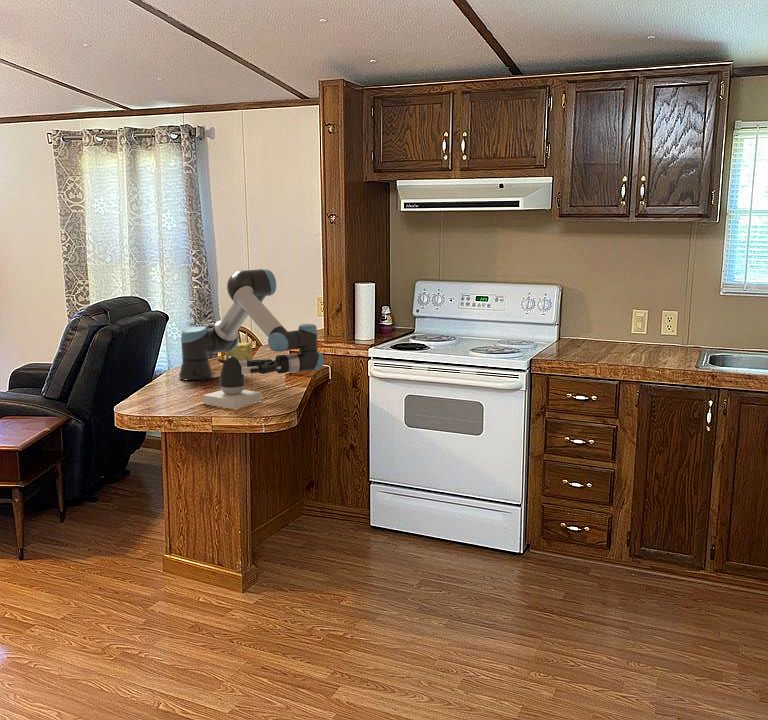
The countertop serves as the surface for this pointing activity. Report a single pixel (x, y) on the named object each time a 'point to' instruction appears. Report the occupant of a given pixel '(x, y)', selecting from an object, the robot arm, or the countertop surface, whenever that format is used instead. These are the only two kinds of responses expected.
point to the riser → (231, 399)
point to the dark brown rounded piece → (231, 376)
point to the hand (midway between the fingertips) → (236, 368)
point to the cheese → (241, 352)
